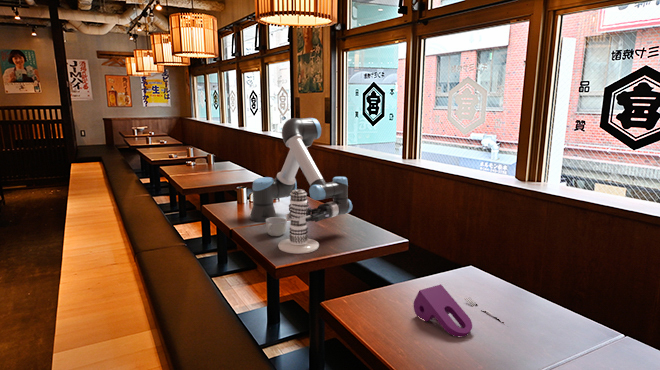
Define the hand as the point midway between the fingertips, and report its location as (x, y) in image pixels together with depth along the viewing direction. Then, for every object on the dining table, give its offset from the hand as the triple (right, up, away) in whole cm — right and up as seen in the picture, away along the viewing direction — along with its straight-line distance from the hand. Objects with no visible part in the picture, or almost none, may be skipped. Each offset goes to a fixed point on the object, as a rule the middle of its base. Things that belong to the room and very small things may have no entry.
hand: (292, 218), depth 199 cm
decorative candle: (+2, -12, +5) cm, 13 cm away
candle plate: (+2, -14, +5) cm, 15 cm away
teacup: (-11, -10, +22) cm, 27 cm away
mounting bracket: (+53, -28, -63) cm, 87 cm away
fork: (+70, -28, -58) cm, 95 cm away
